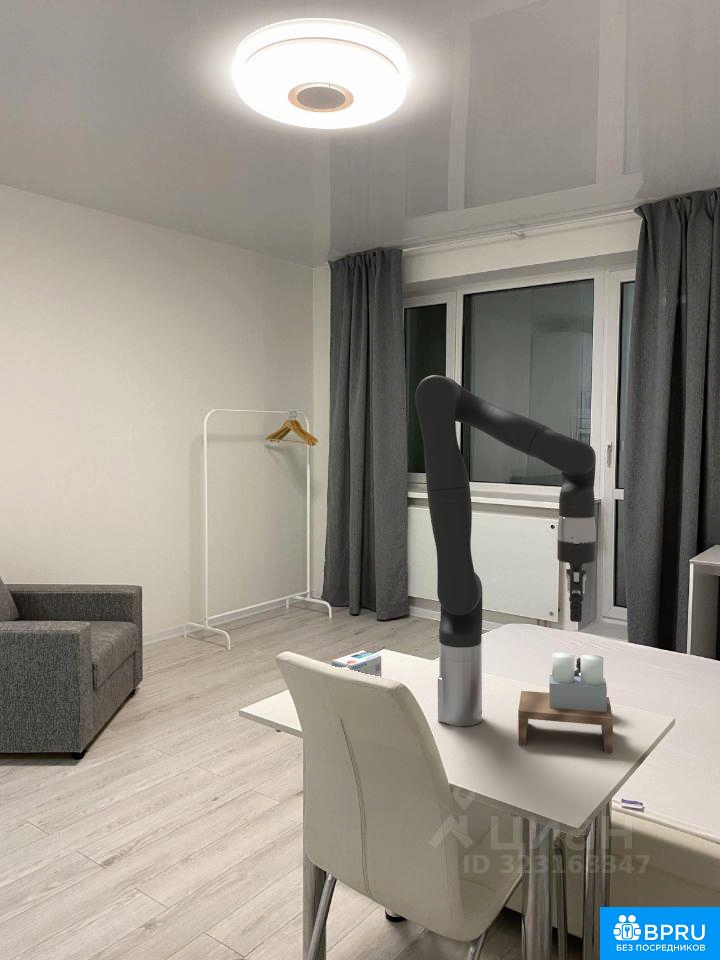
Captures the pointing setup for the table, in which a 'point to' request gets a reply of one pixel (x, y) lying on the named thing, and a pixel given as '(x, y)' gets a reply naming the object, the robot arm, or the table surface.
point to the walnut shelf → (561, 716)
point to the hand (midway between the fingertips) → (575, 616)
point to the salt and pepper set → (577, 683)
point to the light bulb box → (361, 662)
